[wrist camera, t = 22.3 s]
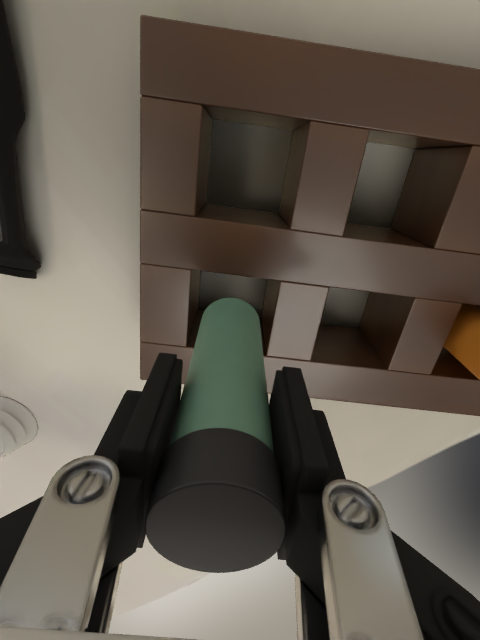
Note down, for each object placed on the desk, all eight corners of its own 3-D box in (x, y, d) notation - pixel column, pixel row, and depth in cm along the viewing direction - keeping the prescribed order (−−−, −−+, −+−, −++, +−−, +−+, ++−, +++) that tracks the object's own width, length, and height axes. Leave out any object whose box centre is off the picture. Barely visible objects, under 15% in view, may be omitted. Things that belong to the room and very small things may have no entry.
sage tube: (201, 290, 15) (144, 476, 6) (266, 298, 16) (299, 490, 6) (197, 347, 17) (143, 568, 8) (256, 354, 17) (273, 578, 8)
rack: (168, 54, 16) (139, 13, 12) (599, 121, 17) (726, 107, 13) (160, 336, 23) (140, 379, 18) (471, 372, 24) (525, 421, 19)
